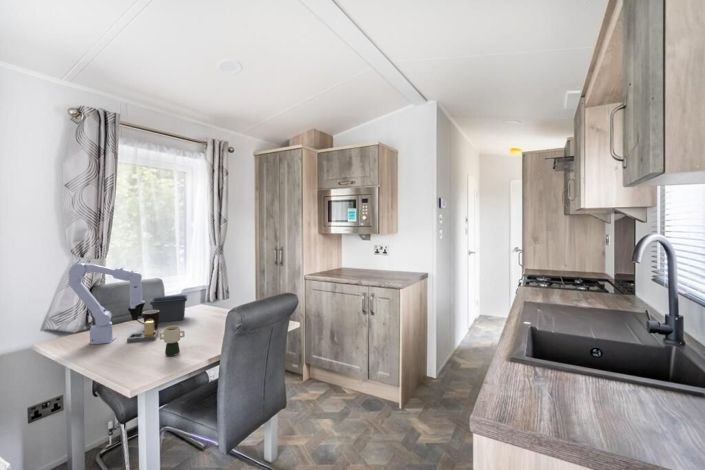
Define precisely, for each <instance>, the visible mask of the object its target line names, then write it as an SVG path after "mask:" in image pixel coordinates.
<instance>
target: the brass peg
mask: <svg viewBox="0 0 705 470" xmlns="http://www.w3.org/2000/svg"><path fill="white" fill-rule="evenodd" d="M143 323H144V322H143ZM143 325H144V327H143V328H144V329H143V331H144V332H143V333H144V336H150V335H155V332H156V331H155V329H154V321H146V322H145V323H144V324H143Z"/></svg>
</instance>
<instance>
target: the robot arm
mask: <svg viewBox="0 0 705 470" xmlns="http://www.w3.org/2000/svg"><path fill="white" fill-rule="evenodd" d="M91 273H98V274H102V275H103V274H104V275H110V276H112V277H113V279H116V280H119V281H125V282H129V299H130V300H129V305H130V307H128V308H127V311H128V312H129V313H130V316H131V319H132V321H137V320H138V319H139V318H140V317H142V316H141V315H143V309H144V306H145V304H146V301H145V300H143V285H142V283H143V282H142V279H143V278H142V277H143V275H142V273H141V272H139V271H137V270H135V271H134V270H129V269H124V267H117V268H115V269H113V268H111V267H106V266H103V265H98V264H95V263H91V262H85V261H84V262H83V261H79V262H76V263H75V264H73V265H72V266H71V267H70V269H69V271H68V285H69V286H70V288H71V289H72V291H73V292H74V293H75V295H77V296H78V298H79V299H80V300H81V301H82V302H83V304H84V305H85V306H86V307H87V308H88V310H89V311H90V312H91V314H92V317H93V319H94V321H95V324H94V325H91V326H90V328H89V345H99V344H101V345H102V344H109V343H112V342H113V341H114V340H115V339H116V336H113V335H114V334H113V322H112V321H111V319H112V316H113V315H112V312H111V311H110V310H107V309H106V308H105V307H104V306H102V304H100V302H99V301H98V300H97V298H95V296H94V295H93V293H91V291H90V290H89V288H87V287H86V285H85V284H84V283H83V279H84V277H85V274H91ZM138 321H139V320H138Z"/></svg>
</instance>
